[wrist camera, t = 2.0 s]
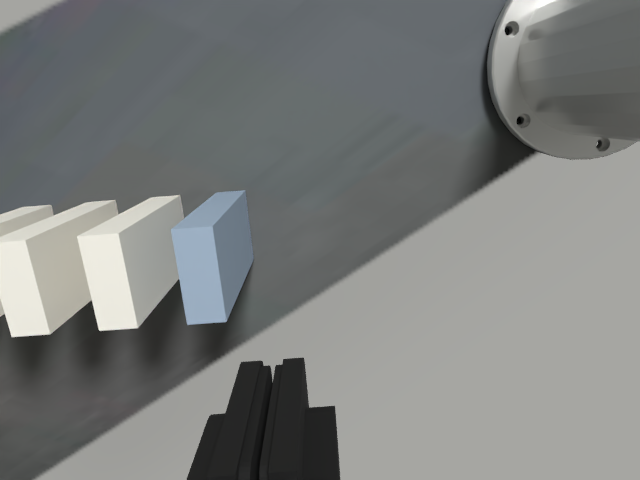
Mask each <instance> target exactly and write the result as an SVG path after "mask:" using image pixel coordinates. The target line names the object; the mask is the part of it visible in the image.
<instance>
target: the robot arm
mask: <svg viewBox="0 0 640 480" xmlns="http://www.w3.org/2000/svg"><path fill="white" fill-rule="evenodd" d="M505 27H507V28H509V30H510V32H509V35H506V34H505V31H504V30H505ZM487 76H488V86H489V90H490V94H491V98H492V102H493V104H494V106H495V109H496V111H497V113H498V115H499V117H500V119H501V120H502V122H503V123H504V124H505V126H506V127H507V128H508V130H509V131H510V132H511V133H512V134H513V135H514V136H515V137H516V138H518V139H519V140H520V141H521V142H522V143H523V144H525V145H527V146H529V147H531V148H532V149H534V150H536V151H538V152H540V153H544V154H547V155H551V156H554V157H560V158H566V159H593V158H598V157H604V156H607V155H610V154H613V153H615V152H618V151H620V150H622V149H625V148H627V147H629V146H631V145H632V144H634V143H636V142H637V141H640V0H507V2H506V3H505V5H504V7H503V9H502V11H501V13H500V15H499V17H498V19H497V21H496V24H495V27H494V30H493V33H492V37H491V40H490V43H489V51H488V59H487ZM518 117H520V118H521V122H520V123H519V124H517V123H516V122H517V118H518ZM597 142H598V145H597V146H596V143H597ZM305 373H306V372H305V362H304V358H292V359H283V365H276V367H275V373H274V379H273V382H272V374H271V368H270V366H263V362H262V361H251V362H241V364H240V367H239V370H238V374H237V377H236V381H235V384H234V387H233V390H232V394H231V397H230V400H229V404H228V407H227V411H226V413H225V414H214V415H211V416H209V418H208V420H207V424H206V426H205V429H204V432H203V435H202V437H201V440H200V443H199V446H198V449H197V452H196V454H195V457H194V460H193V463H192V466H191V469H190V472H189V474H188V477H187V480H340V471H339V470H340V469H339V454H338V440H337V427H336V414H335V406H327V407H313V408H309V404H308V394H307V383H306V374H305Z"/></svg>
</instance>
